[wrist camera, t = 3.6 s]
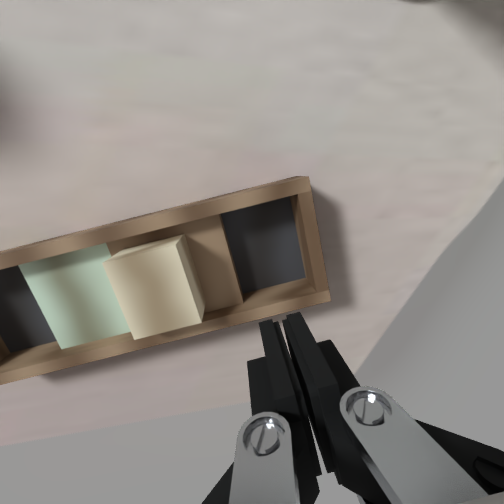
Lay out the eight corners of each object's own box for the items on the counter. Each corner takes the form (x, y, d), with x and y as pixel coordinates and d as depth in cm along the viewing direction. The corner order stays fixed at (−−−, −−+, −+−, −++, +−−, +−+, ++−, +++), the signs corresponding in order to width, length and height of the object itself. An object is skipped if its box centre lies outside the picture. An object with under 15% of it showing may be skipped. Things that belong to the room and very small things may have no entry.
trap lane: (296, 176, 23) (308, 176, 20) (316, 282, 26) (331, 300, 22) (-47, 263, 23) (-102, 280, 20) (10, 360, 26) (-29, 392, 22)
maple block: (184, 233, 22) (175, 244, 18) (206, 301, 23) (201, 322, 20) (122, 249, 22) (101, 263, 18) (148, 316, 23) (134, 340, 20)
